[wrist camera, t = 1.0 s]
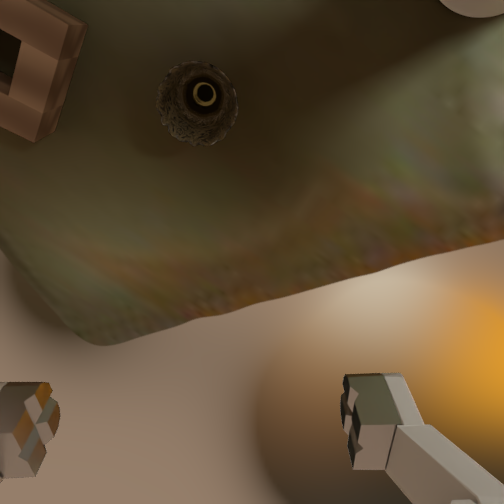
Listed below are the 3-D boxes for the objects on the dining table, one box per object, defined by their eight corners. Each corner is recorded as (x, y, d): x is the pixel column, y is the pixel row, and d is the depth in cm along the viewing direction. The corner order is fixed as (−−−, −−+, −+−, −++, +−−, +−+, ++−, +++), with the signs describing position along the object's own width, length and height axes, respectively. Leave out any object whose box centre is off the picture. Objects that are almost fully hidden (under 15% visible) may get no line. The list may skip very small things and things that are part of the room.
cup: (210, 141, 45) (203, 163, 38) (157, 96, 43) (139, 110, 36) (253, 90, 43) (254, 102, 36) (199, 38, 40) (189, 41, 33)
